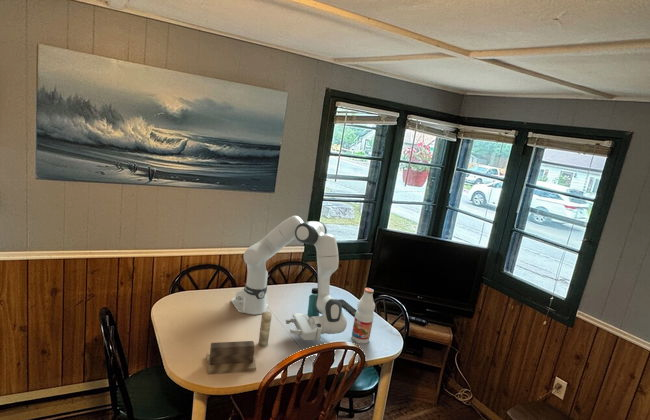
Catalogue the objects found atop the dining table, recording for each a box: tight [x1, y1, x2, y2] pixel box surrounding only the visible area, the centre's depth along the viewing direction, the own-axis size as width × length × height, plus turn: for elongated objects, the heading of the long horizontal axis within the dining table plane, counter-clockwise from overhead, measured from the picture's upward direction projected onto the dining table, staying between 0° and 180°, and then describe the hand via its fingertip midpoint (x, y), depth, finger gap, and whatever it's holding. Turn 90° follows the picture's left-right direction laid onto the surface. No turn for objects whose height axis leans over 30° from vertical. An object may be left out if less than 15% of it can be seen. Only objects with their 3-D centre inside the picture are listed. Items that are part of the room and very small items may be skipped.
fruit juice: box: [351, 287, 376, 344], centre depth 213 cm, size 9×9×28 cm
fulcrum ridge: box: [205, 340, 257, 375], centre depth 177 cm, size 20×12×10 cm, turn 109°
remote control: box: [338, 299, 357, 318], centre depth 249 cm, size 5×24×1 cm, turn 31°
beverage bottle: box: [307, 287, 320, 318], centre depth 222 cm, size 6×7×20 cm
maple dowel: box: [257, 310, 273, 348], centre depth 196 cm, size 4×4×16 cm
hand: (288, 326), depth 199 cm, fingers open, 8 cm apart
